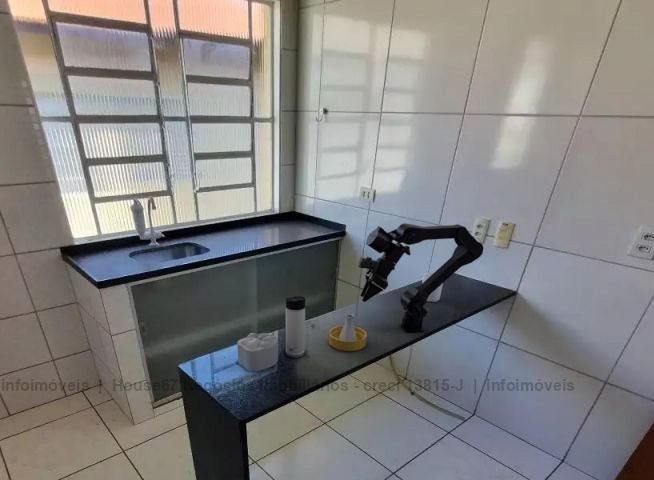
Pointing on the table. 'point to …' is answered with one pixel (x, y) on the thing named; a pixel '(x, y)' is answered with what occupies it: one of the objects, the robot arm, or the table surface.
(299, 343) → the travel mug
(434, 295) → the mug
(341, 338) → the flask
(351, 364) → the table surface
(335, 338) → the bowl
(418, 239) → the robot arm
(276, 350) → the lumpy-topped squat cylinder
